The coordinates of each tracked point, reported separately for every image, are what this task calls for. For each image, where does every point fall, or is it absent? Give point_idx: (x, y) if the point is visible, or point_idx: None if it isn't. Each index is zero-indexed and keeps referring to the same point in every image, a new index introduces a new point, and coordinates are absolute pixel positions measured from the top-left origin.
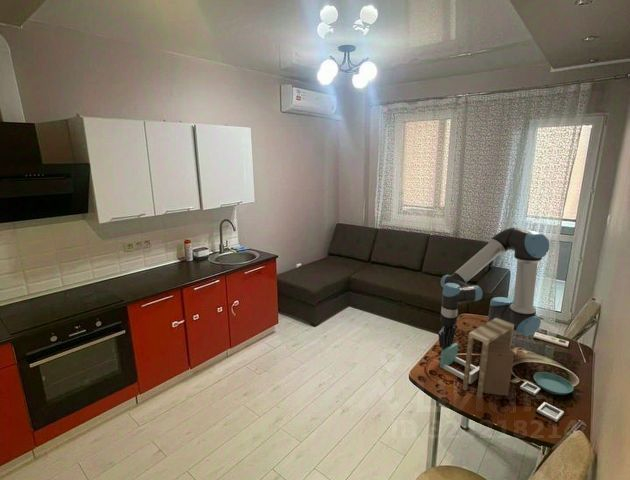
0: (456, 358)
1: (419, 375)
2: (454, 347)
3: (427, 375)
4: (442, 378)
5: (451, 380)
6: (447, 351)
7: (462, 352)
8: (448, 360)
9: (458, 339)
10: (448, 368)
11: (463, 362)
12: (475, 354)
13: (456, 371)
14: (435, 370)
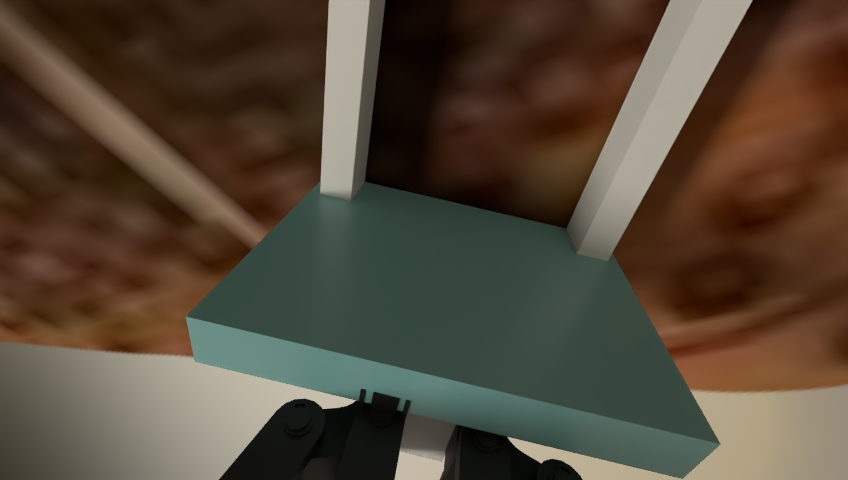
0: (353, 182)
1: (831, 358)
2: (339, 326)
3: (802, 309)
4: (812, 177)
5: (825, 69)
6: (585, 385)
7: (138, 171)
8: (502, 245)
9: (2, 266)
10: (637, 188)
11: (366, 74)
12: (24, 34)
13: (709, 66)
14: (662, 278)
